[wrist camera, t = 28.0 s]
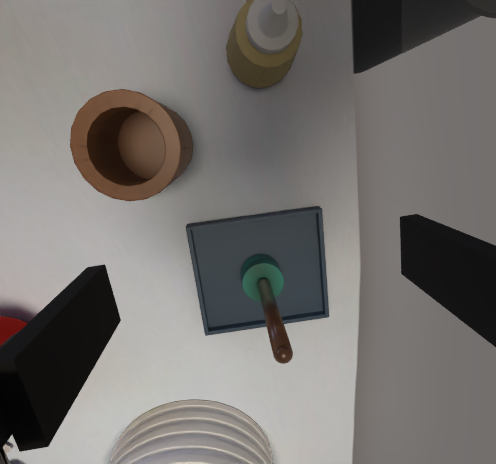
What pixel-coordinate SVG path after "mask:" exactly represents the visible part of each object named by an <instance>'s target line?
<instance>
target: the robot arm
mask: <svg viewBox="0 0 496 464" xmlns="http://www.w3.org/2000/svg"><path fill="white" fill-rule="evenodd" d="M400 236H401V273H402V275H404V276H405V277H406V278H407V279H409V280H410V281H411V282H413V283H414V284H415V285H417V286H418V287H419V288H420V289H422V290H423V291H424V292H425V293H427V294H428V295H429V296H431V297H432V298H433V299H434V300H436V301H437V302H438V303H440V304H441V305H442V306H443V307H445V308H446V309H448V310H449V311H450V312H451V313H452V314H454V315H455V316H456V317H458V318H459V319H460V320H461V321H463V322H464V323H465V324H467V325H468V326H469V327H471V328H472V329H473V330H474V331H476V332H477V333H478V334H479V335H481V336H482V337H483V338H485V339H486V340H487V341H488V342H490V343H491V344H492V345H494V346H495V347H496V246H495V245H492V244H490V243H488V242H485V241H483V240H480V239H478V238H475V237H473V236H470V235H468V234H465V233H463V232H460V231H458V230H455V229H453V228H450V227H448V226H445V225H443V224H440V223H437V222H435V221H433V220H430V219H428V218H425V217H423V216H420V215H418V214H415V215H408V216H402V217H400ZM120 321H121V319H120V316H119V312H118V309H117V305H116V302H115V298H114V295H113V291H112V288H111V284H110V281H109V277H108V274H107V270H106V266H105V265H99V266H93V267H87V268H86V269H85V270H84V271H83V272H82V273H81V274H80V275H79V276H78V277H77V278H76V279H75V280H73V281H72V282H71V283H70V284H69V285H68V286H67V287H66V288H65V289H64V290H63V291H62V292H61V293H60V294H59V295H57V296H56V297H55V298H54V299H53V300H52V301H51V302H50V303H49V304H48V305H47V306H46V307H45V308H44V309H43V310H42V311H40V312H39V313H38V314H37V315H36V316H35V317H34V318H33V319H32V320H31V321H30V322H29V323H28V324H27V325H26V326H24V327H23V328H22V329H21V330H20V331H18V332H17V333H15V334H14V335H12V336H10V337H9V338H8V339H7V340H6V341H5V342H4V343H3V344H2V345H1V346H0V464H9V461H8V458H7V456H6V453H5V451H4V449H3V446H4V445H5V443H6V442H7V441H8V439H9V438H10V436H11V435H13V437H14V439H15V442H16V444H17V446H18V449H19V451H26V450H32V449H38V448H43V447H48V446H49V444H50V442H51V441H52V439H53V437H54V435H55V434H56V432H57V430H58V429H59V427H60V425H61V423H62V422H63V420H64V418H65V416H66V415H67V413H68V411H69V409H70V408H71V406H72V404H73V402H74V401H75V399H76V397H77V396H78V394H79V392H80V390H81V389H82V387H83V385H84V383H85V382H86V380H87V378H88V376H89V375H90V373H91V371H92V369H93V368H94V366H95V364H96V362H97V361H98V359H99V357H100V356H101V354H102V352H103V350H104V349H105V347H106V345H107V343H108V342H109V340H110V338H111V336H112V335H113V333H114V331H115V329H116V328H117V326H118V324H119V323H120Z"/></svg>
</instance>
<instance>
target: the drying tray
mask: <svg viewBox="0 0 496 464" xmlns="http://www.w3.org/2000/svg"><path fill="white" fill-rule="evenodd" d="M186 231H187V236H188V242H189V248H190V253H191V259H192V264H193V270H194V275H195V281H196V286H197V292H198V298H199V303H200V309H201V314H202V320H203V325H204V331H205V335H213V334H220V333H226V332H233V331H240V330H247V329H253V328H260V327H267V325H266V321H265V317H264V312H263V308H262V304H261V302H259V301H255V300H252V299H251V298H249V297H248V296H247V295H246V293H245V292H244V289H243V286H242V278H241V268H242V266H243V264H244V262H245V261H246V260H247V259H248V258H249V257H251V256H253V255H256V254H266V255H269V256H271V257H272V258H274V259H275V260H276V262H277V263H278V265H279V268H280V270H281V272H282V275H283V278H284V286H283V289H282V291H281V292H280V294H279V295H278V296H277V297H276V298H275V299H276V302H277V305H278V309H279V312H280V315H281V318H282V321H283V324H287V323H293V322H300V321H307V320H313V319H320V318H325V317H326V318H327V317H329V307H328V292H327V277H326V262H325V247H324V232H323V218H322V208H320V207H319V206H316V207H309V208H302V209H295V210H287V211H280V212H273V213H266V214H258V215H251V216H244V217H237V218H229V219H222V220H215V221H208V222H200V223H193V224H187V226H186Z"/></svg>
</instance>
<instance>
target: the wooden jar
mask: <svg viewBox="0 0 496 464" xmlns="http://www.w3.org/2000/svg"><path fill="white" fill-rule="evenodd" d="M70 147H71V151H72V155H73V159H74V163H75V164H76V166H77V168H78V169H79V171H80V173H81V174H82V176H83V178H85V180H86V181H87V182H88V183H89V184H91V185H92V186H93V187H94V188H95V189H96V190H97V191H99V192H101V193H103V194H105V195H107V196H109V197H111V198H114V199H120V200H125V201H135V200H143V199H147V198H149V197H151V196H153V195H155V194H157V193H160V192H161V191H162V190H163V189H165V188H166V187H167V186H168V185H169V184H170V183H172V182H173V181H174V180H175V179H176V178H178V177H179V176H180V175H181V174H182V173H183V172H184V171H185V170H186V168H187V166H188V165H189V162H190V160H191V157H192V152H193V140H192V136H191V133H190V130H189V128H188V126H187V125H186V123H185V121H184V120H183V119H182V118H181V117H180V116H179V115H178V114H177V113H176V112H174V111H172V110H171V109H169V108H167V107H165V106H163V105H162V104H160V103H158V102H156V101H155V100H153V99H151V98H149V97H147V96H146V95H144V94H142V93H139V92H134V91H129V90H124V89H120V90H112V91H106V92H103V93H101V94H99V95H97V96H95V97H93V98H91V99H90V100H88V102H87V103H86V104H85V105H84V106H83V107H82V108H81V109H80V110H79V111H78V113H77V115H76V118H75V120H74V122H73V125H72V127H71V140H70Z"/></svg>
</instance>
